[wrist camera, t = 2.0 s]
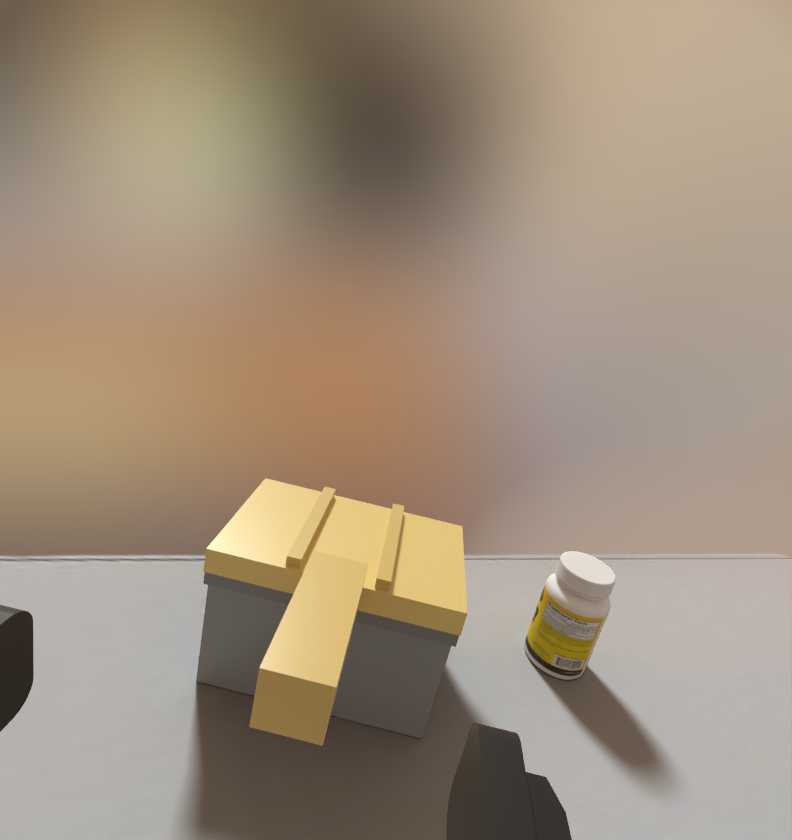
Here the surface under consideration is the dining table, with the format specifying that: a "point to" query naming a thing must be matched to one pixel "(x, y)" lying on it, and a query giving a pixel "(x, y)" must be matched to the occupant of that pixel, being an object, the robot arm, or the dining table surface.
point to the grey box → (363, 668)
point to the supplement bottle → (570, 615)
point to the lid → (333, 588)
